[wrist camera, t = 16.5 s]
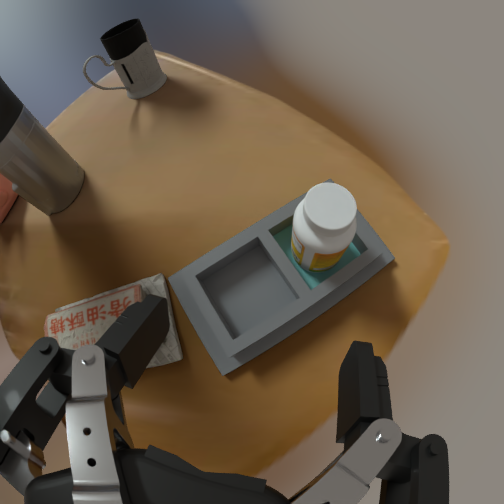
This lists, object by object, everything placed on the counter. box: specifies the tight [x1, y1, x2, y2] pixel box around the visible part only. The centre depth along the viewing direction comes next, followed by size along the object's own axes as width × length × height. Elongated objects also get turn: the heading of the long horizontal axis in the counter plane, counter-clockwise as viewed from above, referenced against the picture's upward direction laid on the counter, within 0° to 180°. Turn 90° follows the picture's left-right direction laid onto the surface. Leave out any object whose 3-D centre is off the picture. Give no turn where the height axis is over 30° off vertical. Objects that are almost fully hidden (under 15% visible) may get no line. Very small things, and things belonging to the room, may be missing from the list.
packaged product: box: [44, 273, 183, 368], centre depth 26 cm, size 18×5×10 cm
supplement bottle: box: [291, 183, 357, 273], centre depth 23 cm, size 5×5×10 cm
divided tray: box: [168, 179, 395, 376], centre depth 27 cm, size 22×12×3 cm, turn 122°
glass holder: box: [83, 19, 167, 99], centre depth 36 cm, size 9×14×15 cm, turn 148°
